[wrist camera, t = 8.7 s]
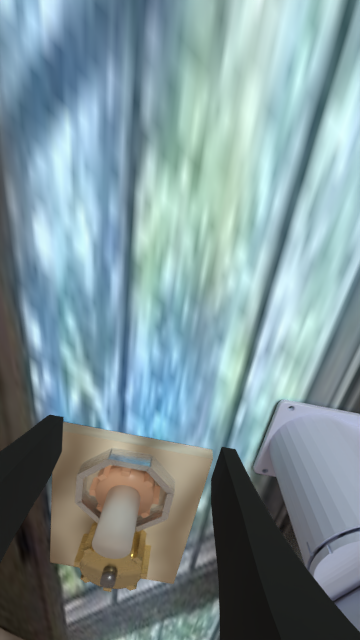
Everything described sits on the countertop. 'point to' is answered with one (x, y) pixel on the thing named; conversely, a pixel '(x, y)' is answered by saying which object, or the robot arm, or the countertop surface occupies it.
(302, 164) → the countertop surface
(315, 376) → the countertop surface
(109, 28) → the countertop surface
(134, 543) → the sun gear
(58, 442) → the robot arm
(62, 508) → the carrier plate
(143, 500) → the gear
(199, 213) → the countertop surface
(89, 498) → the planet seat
